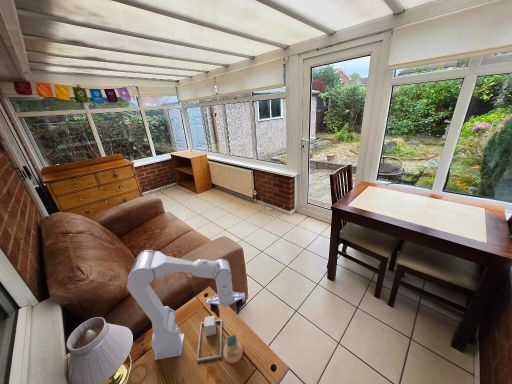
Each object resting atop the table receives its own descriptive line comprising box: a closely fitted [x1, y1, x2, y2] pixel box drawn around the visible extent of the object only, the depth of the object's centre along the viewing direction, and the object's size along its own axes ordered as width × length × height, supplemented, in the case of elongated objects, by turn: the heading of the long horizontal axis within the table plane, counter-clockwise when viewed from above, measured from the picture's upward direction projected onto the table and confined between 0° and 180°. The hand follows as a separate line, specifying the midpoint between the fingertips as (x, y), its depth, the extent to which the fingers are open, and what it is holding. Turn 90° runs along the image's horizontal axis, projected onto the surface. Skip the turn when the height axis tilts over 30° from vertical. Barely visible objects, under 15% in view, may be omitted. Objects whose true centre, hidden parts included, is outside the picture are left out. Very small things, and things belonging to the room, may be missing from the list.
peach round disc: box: [222, 340, 244, 364], centre depth 78 cm, size 8×8×1 cm
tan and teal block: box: [225, 334, 239, 357], centre depth 76 cm, size 4×4×6 cm
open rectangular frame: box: [196, 318, 223, 363], centre depth 82 cm, size 9×14×1 cm, turn 8°
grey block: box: [203, 315, 217, 337], centre depth 85 cm, size 4×4×6 cm
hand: (228, 313), depth 82 cm, fingers open, 7 cm apart
